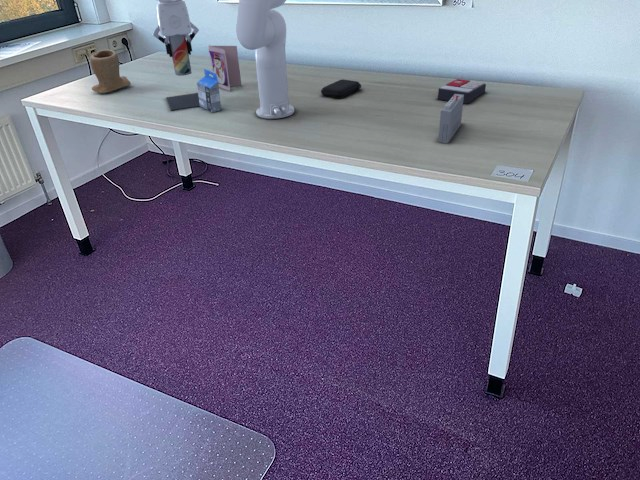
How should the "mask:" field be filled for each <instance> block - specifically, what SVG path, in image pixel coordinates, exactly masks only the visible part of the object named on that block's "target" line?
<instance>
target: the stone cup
mask: <svg viewBox="0 0 640 480" xmlns="http://www.w3.org/2000/svg"><path fill="white" fill-rule="evenodd" d="M89 63H90V67H91V70H92V73H93V74H94V75H95V77H96V79H97V81H98V83H97V84H95V85H93V86H92V87H91V90H92V91H93V92H95V93H99V94H106V93H110V92H114V91H117V90H120V89H123V88H125V87H128V86H131V81H130V80H129V79H128V77H127V76H126V75H122V76H120V59H119V57H118V54H117V52H116V51H115V50H112V49H100V50H97V51H95V52H94V53H92V54H91V55H90V56H89Z"/></svg>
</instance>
